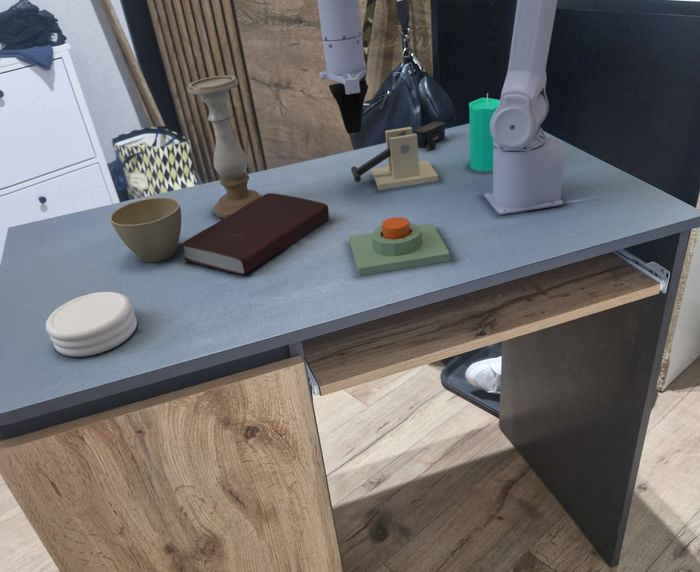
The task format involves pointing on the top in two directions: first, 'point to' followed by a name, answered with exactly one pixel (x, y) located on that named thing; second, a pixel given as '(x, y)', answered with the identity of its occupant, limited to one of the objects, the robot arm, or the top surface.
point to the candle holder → (225, 144)
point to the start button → (395, 228)
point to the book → (255, 233)
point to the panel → (398, 250)
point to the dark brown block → (430, 135)
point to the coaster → (91, 324)
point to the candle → (481, 133)
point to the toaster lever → (371, 163)
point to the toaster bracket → (403, 162)
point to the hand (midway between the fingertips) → (353, 131)
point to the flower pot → (149, 227)
